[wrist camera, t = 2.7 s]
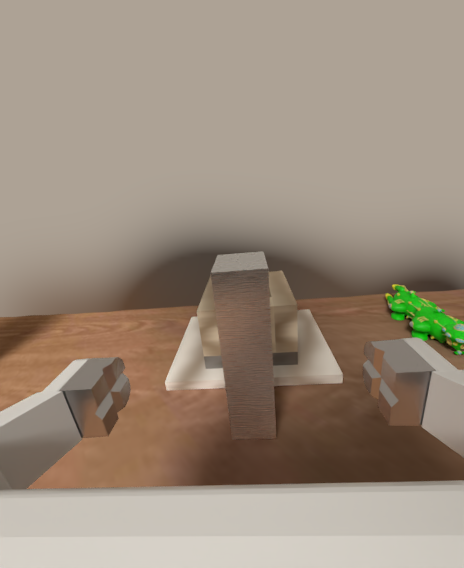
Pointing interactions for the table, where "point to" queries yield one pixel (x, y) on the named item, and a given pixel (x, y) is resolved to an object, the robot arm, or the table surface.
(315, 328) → the square socket base
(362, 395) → the table surface
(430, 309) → the crocodile figurine
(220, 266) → the grey rectangular bar
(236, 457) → the table surface
